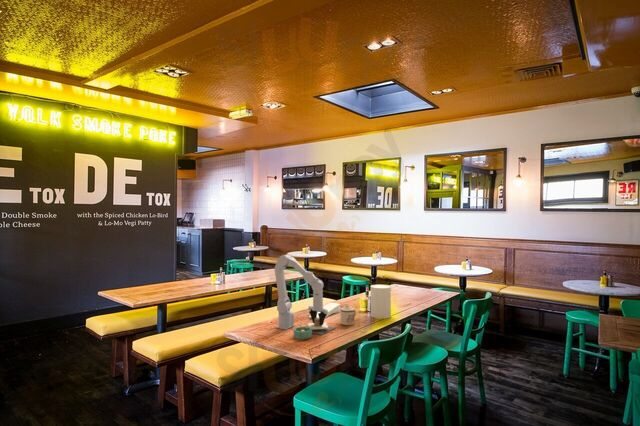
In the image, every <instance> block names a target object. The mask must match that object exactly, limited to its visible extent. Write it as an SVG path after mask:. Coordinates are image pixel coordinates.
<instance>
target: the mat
mask: <svg viewBox="0 0 640 426" xmlns="http://www.w3.org/2000/svg"><path fill="white" fill-rule="evenodd" d="M328 327H329V329H313V330H312V335H317V334H318V336H323V335H325V334H327V333H329V331H330V332H331V331H334V330H336V327H334V326H328Z"/></svg>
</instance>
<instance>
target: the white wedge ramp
mask: <svg viewBox="0 0 640 426" xmlns="http://www.w3.org/2000/svg"><path fill="white" fill-rule="evenodd" d="M323 308H324V309H326V310H328V313H327V315H326V317H325V319H326V318H327V317H329V316H330V315H332V314H337V313H341V311H340V309H341V308H342V306H341V303H336V302H329V303H327V304H326V305H323ZM318 313H321V312H317V317H316V318H319V315H318ZM308 318H310V319H312V318H311V315H310V314H309V316H308Z"/></svg>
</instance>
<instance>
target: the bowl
mask: <svg viewBox="0 0 640 426" xmlns="http://www.w3.org/2000/svg"><path fill="white" fill-rule="evenodd" d="M312 337H313V333H312V329H311V328H310V327H309V326H297V327H295V328H293V338H294V339H297V340H308V339H312Z"/></svg>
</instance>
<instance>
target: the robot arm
mask: <svg viewBox="0 0 640 426" xmlns="http://www.w3.org/2000/svg"><path fill="white" fill-rule="evenodd" d="M287 267H291V268H294V270H295V271H298V272H299V274H300V275H301V276H302V277H303V280H304V281H305V282H307V283H308V285H310V286H311V289H312V291H313V292H312V295H313V296H312V305H313V306H312V305H309V306H308V310H309V311H308V313H309V316H310V315H311V318H310V319H311V320H312V323H314V318H316V317H317V312H321V313H318V315H319V319H320V325H323V323H324V322H325V319H326V318H327V317H326V315H327V313H328V310H326V309H324V308H323V307H324V304H323V302H324V301H323V300H324V299H323V296H324V293H323V291H324V290H323V288H324V282H323V280H322V279H319V278H318V277H317V276H315V274H314V272H312V271H309V270H308V271H307V270H306V269H305V268H304V267H303V266H302V265H301V264H300V263H299V262H298V260H296V258H295V257H293V256H292V255H291V254H290V253H286V254H284V255H280V256H279V257H278V258H277V259H276V262H275V266H274V275H275V281H276V287H277V289H276V290H277V295H278V300H277V307H276V310H277V311H278V325H277V326H275V328H277V329H281V330H287V329H290V328H293V327H295V326H296V325H295V314H294V313H293V311H292V310H291V309H292V306H293V304H292V302H291V300H290V297H289V296H288V291H287V285H286V284H287V283H286V278H285V269H286V268H287ZM325 317H326V318H325Z"/></svg>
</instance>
